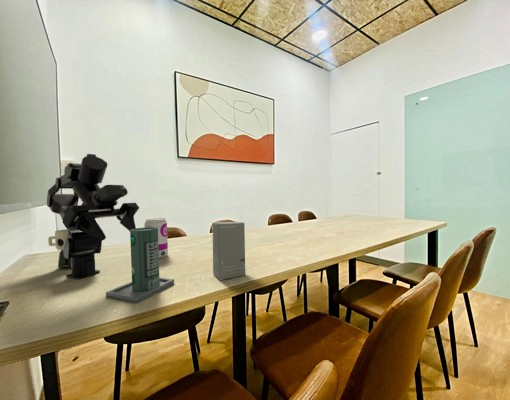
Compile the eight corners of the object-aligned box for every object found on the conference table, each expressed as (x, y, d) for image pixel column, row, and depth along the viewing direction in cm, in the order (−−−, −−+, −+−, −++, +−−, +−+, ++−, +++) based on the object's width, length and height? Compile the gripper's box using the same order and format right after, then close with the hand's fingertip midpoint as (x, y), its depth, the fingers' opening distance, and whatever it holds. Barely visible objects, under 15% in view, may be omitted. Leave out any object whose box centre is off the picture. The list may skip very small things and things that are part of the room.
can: (145, 281, 63) (143, 227, 63) (164, 283, 61) (162, 227, 61) (127, 290, 57) (124, 230, 57) (146, 293, 55) (144, 231, 55)
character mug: (45, 272, 76) (43, 232, 75) (53, 266, 82) (51, 230, 82) (86, 267, 80) (84, 229, 80) (90, 262, 87) (89, 227, 86)
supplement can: (171, 253, 96) (170, 217, 96) (161, 259, 88) (160, 220, 87) (152, 253, 97) (151, 218, 96) (141, 259, 89) (139, 220, 88)
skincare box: (219, 281, 64) (218, 224, 63) (212, 273, 70) (210, 221, 70) (247, 275, 68) (246, 221, 67) (237, 269, 74) (236, 219, 74)
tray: (106, 297, 55) (105, 292, 55) (146, 279, 66) (146, 275, 66) (136, 303, 52) (136, 298, 52) (174, 283, 63) (174, 279, 63)
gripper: (67, 172, 56) (100, 219, 52) (133, 177, 73) (162, 212, 69) (49, 205, 59) (79, 251, 55) (117, 202, 76) (143, 237, 72)
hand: (121, 235), depth 63 cm, fingers open, 9 cm apart
